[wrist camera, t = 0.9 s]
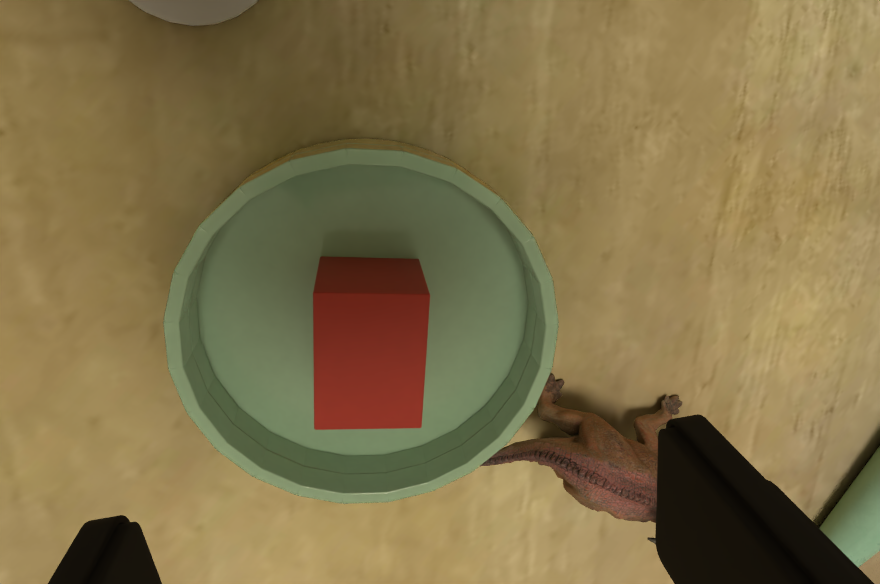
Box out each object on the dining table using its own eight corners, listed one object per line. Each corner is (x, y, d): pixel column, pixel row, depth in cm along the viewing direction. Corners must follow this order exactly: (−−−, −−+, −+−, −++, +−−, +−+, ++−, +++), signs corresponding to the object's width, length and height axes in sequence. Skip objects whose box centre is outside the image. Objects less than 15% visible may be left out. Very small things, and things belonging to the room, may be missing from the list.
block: (320, 255, 26) (312, 292, 22) (419, 258, 27) (430, 294, 23) (320, 376, 28) (314, 430, 24) (412, 376, 29) (421, 428, 25)
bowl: (108, 310, 27) (74, 345, 23) (375, 53, 24) (377, 52, 21) (363, 509, 32) (363, 559, 29) (599, 316, 30) (628, 347, 27)
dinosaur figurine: (723, 406, 33) (852, 527, 24) (677, 491, 35) (782, 632, 26) (494, 349, 30) (549, 465, 21) (456, 446, 32) (493, 589, 23)
